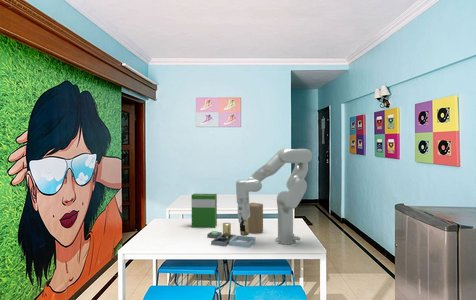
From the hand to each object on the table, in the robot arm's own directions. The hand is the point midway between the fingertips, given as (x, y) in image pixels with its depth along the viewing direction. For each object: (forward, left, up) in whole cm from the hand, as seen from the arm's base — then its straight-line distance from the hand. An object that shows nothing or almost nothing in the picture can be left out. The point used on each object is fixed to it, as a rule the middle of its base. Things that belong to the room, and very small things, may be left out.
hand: (244, 229), depth 189 cm
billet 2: (0, 0, -3) cm, 3 cm away
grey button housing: (+23, -6, -9) cm, 25 cm away
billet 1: (+13, -3, -8) cm, 16 cm away
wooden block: (+3, -27, -9) cm, 29 cm away
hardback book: (+43, -30, -9) cm, 53 cm away
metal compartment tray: (+13, +1, -9) cm, 16 cm away
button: (+23, -6, -8) cm, 25 cm away
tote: (+1, +1, -9) cm, 9 cm away
